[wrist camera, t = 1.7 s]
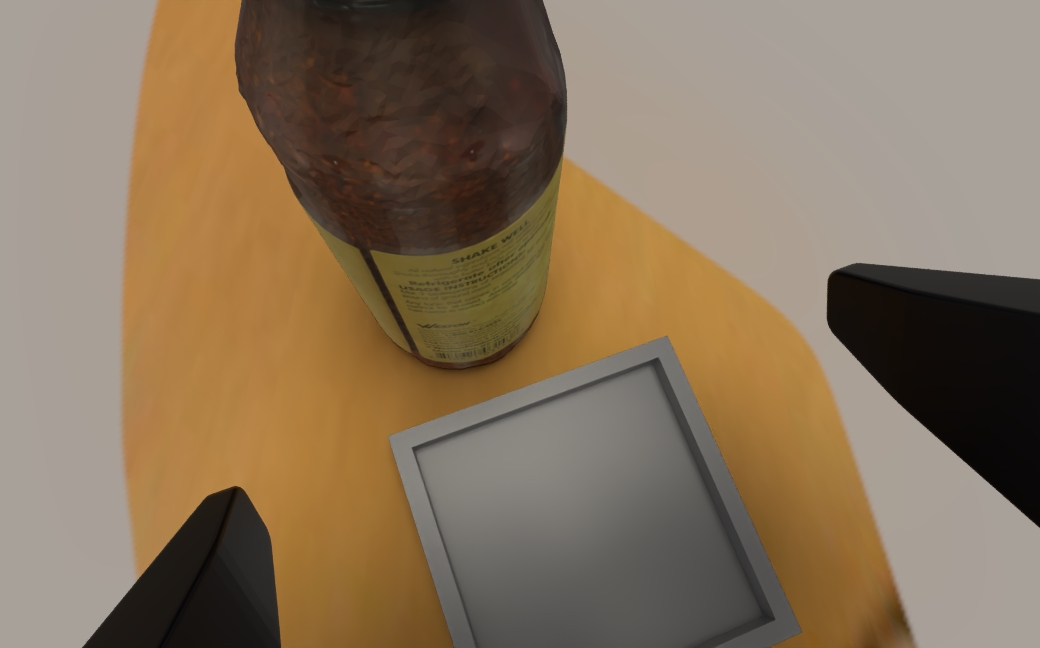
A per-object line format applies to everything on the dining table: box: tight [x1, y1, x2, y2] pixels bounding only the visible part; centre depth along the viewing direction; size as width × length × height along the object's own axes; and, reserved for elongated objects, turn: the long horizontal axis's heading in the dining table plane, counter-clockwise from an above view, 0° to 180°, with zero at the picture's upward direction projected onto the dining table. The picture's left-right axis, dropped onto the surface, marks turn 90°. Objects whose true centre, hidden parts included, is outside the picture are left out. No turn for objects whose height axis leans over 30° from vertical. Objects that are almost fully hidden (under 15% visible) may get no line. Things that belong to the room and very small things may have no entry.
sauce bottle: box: [235, 0, 567, 369], centre depth 14 cm, size 7×6×20 cm
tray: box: [388, 336, 802, 648], centre depth 21 cm, size 10×10×2 cm
